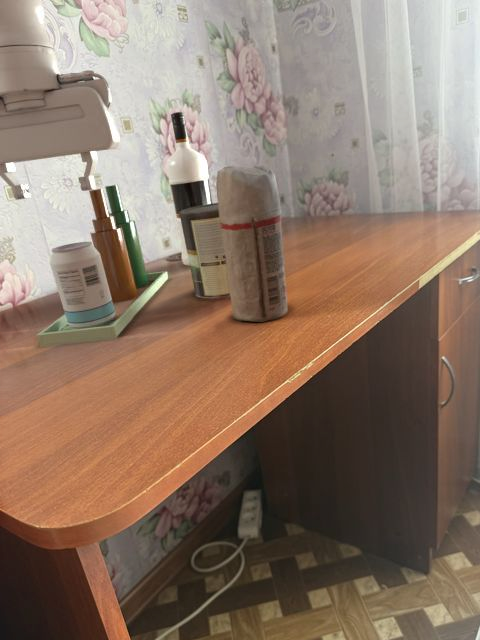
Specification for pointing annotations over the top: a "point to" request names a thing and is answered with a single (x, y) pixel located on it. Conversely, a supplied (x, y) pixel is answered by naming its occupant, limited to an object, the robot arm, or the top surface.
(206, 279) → the coffee can
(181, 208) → the vodka
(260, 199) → the spray can
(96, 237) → the amber bottle
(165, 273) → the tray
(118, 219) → the green bottle
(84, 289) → the beverage can
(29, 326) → the top surface
